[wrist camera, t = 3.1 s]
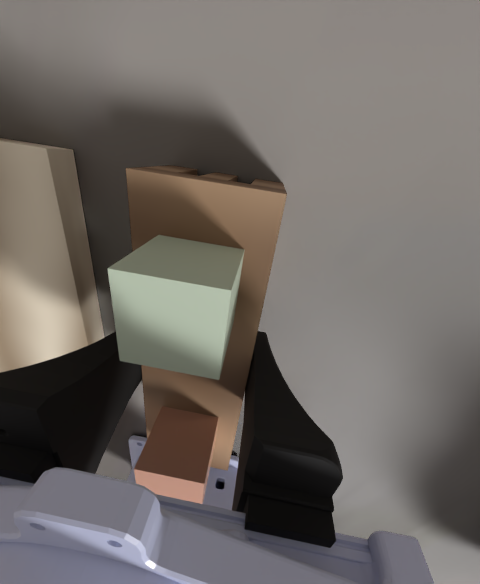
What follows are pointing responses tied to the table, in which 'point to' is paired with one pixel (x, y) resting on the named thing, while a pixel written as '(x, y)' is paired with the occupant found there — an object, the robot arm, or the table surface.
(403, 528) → the table surface
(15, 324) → the dock
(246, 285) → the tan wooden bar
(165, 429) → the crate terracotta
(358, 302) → the table surface
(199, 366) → the pale green cube
